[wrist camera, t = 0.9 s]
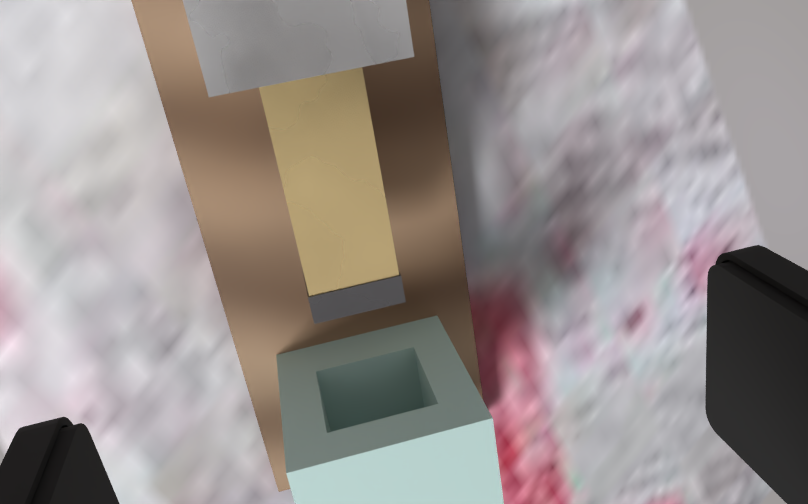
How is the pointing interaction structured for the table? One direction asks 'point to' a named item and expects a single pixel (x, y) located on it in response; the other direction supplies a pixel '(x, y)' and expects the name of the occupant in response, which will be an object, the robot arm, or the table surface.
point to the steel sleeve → (293, 39)
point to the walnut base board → (269, 216)
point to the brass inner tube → (334, 192)
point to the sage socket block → (386, 421)
